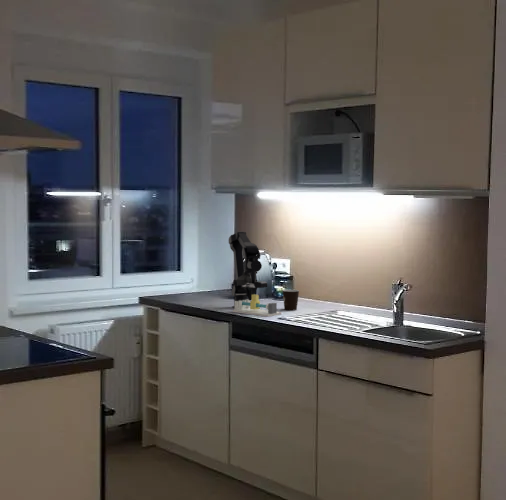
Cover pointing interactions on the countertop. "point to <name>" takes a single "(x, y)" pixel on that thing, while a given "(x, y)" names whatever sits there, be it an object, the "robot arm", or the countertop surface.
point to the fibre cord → (270, 307)
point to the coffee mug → (290, 299)
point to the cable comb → (246, 309)
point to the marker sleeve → (254, 302)
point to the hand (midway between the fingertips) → (249, 300)
